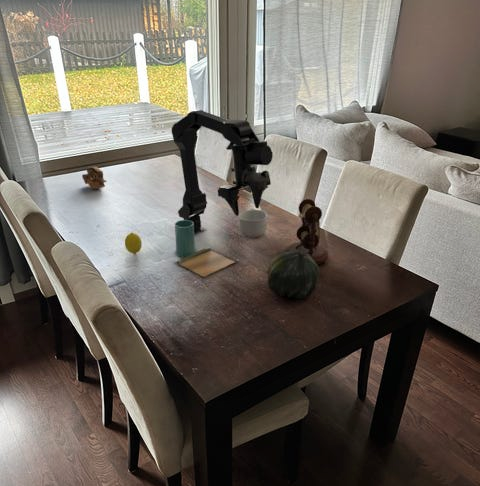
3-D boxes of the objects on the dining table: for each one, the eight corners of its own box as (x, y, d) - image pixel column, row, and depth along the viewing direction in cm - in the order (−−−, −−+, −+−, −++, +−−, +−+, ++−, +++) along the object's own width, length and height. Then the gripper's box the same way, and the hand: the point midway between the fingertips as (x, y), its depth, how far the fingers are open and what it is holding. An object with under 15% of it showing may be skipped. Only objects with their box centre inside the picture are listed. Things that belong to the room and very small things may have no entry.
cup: (172, 253, 151) (170, 223, 145) (187, 247, 155) (185, 218, 149) (184, 259, 147) (182, 229, 141) (199, 252, 151) (197, 223, 145)
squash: (267, 259, 135) (270, 240, 121) (314, 262, 135) (324, 243, 121) (265, 303, 131) (269, 289, 117) (314, 306, 131) (324, 292, 117)
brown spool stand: (333, 267, 143) (341, 209, 132) (290, 270, 141) (294, 212, 130) (319, 247, 155) (325, 193, 145) (279, 250, 153) (282, 195, 142)
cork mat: (176, 263, 144) (176, 260, 144) (208, 249, 153) (207, 246, 152) (203, 277, 137) (203, 274, 136) (235, 262, 145) (235, 259, 144)
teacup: (264, 241, 159) (265, 221, 155) (235, 238, 161) (235, 218, 157) (269, 226, 171) (270, 207, 166) (242, 224, 172) (243, 205, 168)
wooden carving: (80, 186, 210) (76, 165, 205) (88, 183, 213) (84, 163, 208) (103, 192, 202) (99, 171, 197) (110, 190, 205) (107, 169, 200)
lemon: (145, 251, 151) (143, 230, 147) (137, 258, 147) (134, 237, 143) (131, 249, 153) (129, 228, 149) (123, 256, 149) (120, 234, 144)
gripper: (237, 172, 126) (243, 223, 133) (281, 159, 137) (284, 207, 143) (213, 169, 134) (220, 218, 141) (256, 157, 144) (260, 203, 151)
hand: (247, 211), depth 144 cm, fingers open, 9 cm apart
